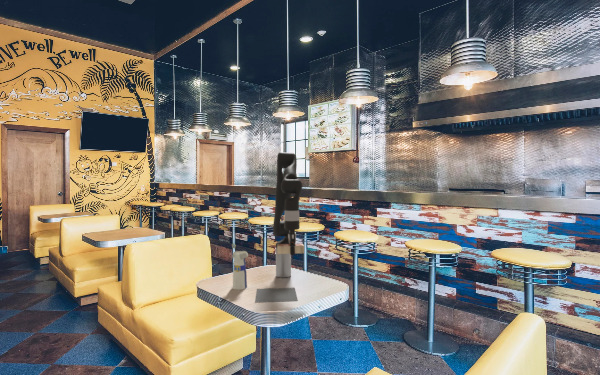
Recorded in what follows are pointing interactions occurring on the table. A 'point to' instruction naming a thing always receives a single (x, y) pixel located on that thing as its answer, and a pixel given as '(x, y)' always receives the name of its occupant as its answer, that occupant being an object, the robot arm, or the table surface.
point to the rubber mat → (275, 295)
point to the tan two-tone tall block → (286, 248)
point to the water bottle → (239, 269)
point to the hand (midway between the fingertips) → (292, 253)
